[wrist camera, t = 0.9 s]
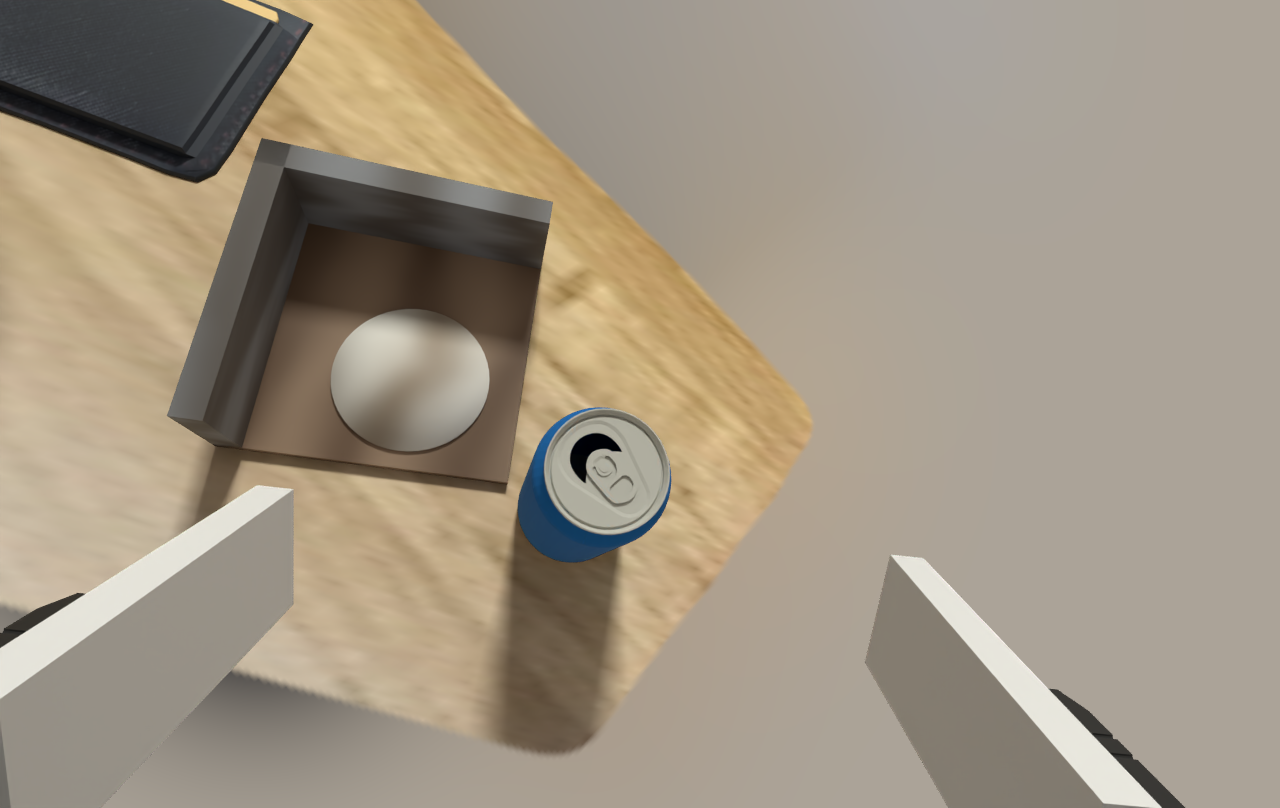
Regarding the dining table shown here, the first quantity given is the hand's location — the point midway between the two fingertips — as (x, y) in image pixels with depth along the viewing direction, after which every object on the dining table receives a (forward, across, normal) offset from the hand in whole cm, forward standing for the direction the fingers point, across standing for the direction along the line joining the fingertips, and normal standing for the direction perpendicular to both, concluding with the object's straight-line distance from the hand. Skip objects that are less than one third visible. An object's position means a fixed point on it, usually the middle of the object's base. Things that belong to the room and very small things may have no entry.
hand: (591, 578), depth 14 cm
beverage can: (+24, -2, -9) cm, 26 cm away
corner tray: (+27, -14, 0) cm, 30 cm away
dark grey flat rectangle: (+34, -35, +15) cm, 51 cm away
